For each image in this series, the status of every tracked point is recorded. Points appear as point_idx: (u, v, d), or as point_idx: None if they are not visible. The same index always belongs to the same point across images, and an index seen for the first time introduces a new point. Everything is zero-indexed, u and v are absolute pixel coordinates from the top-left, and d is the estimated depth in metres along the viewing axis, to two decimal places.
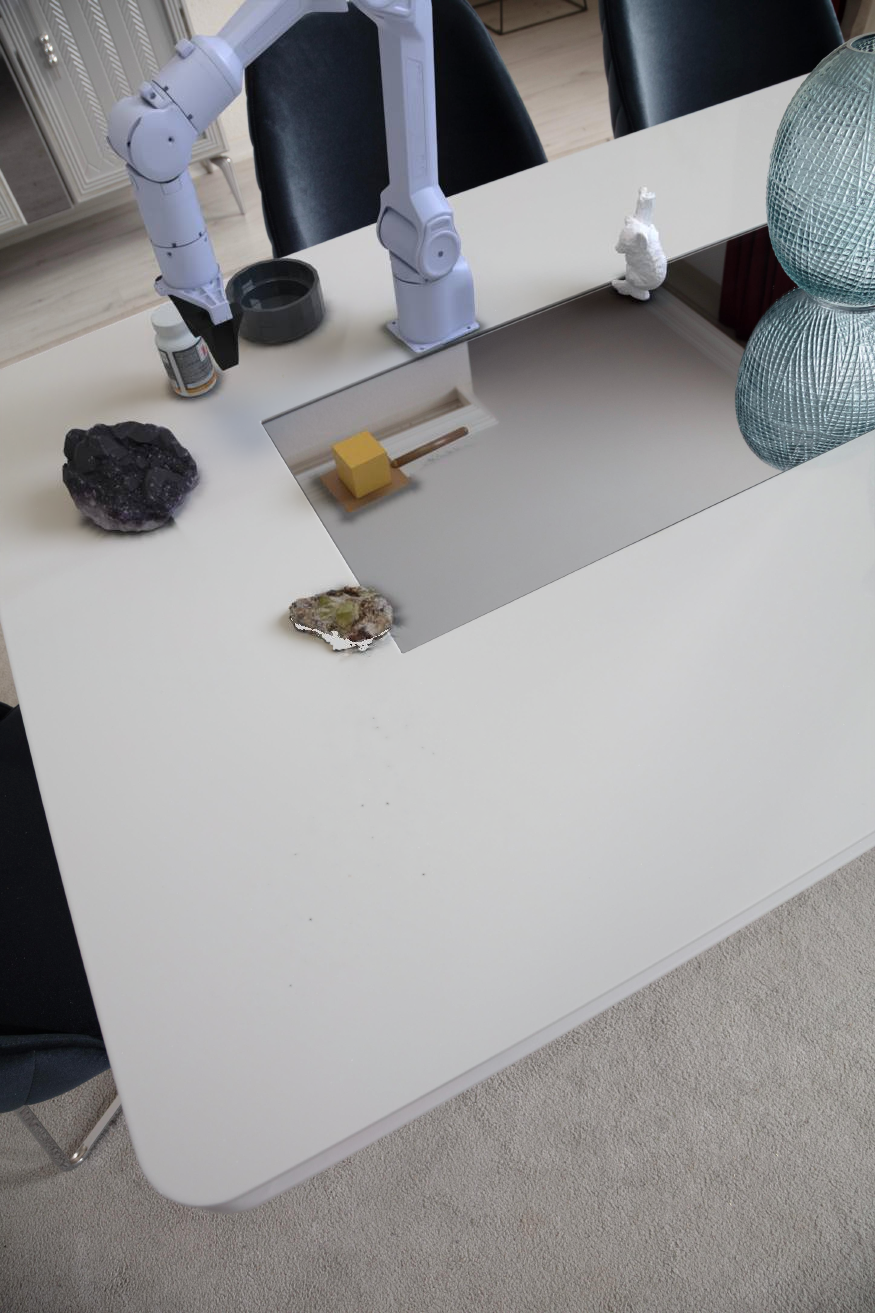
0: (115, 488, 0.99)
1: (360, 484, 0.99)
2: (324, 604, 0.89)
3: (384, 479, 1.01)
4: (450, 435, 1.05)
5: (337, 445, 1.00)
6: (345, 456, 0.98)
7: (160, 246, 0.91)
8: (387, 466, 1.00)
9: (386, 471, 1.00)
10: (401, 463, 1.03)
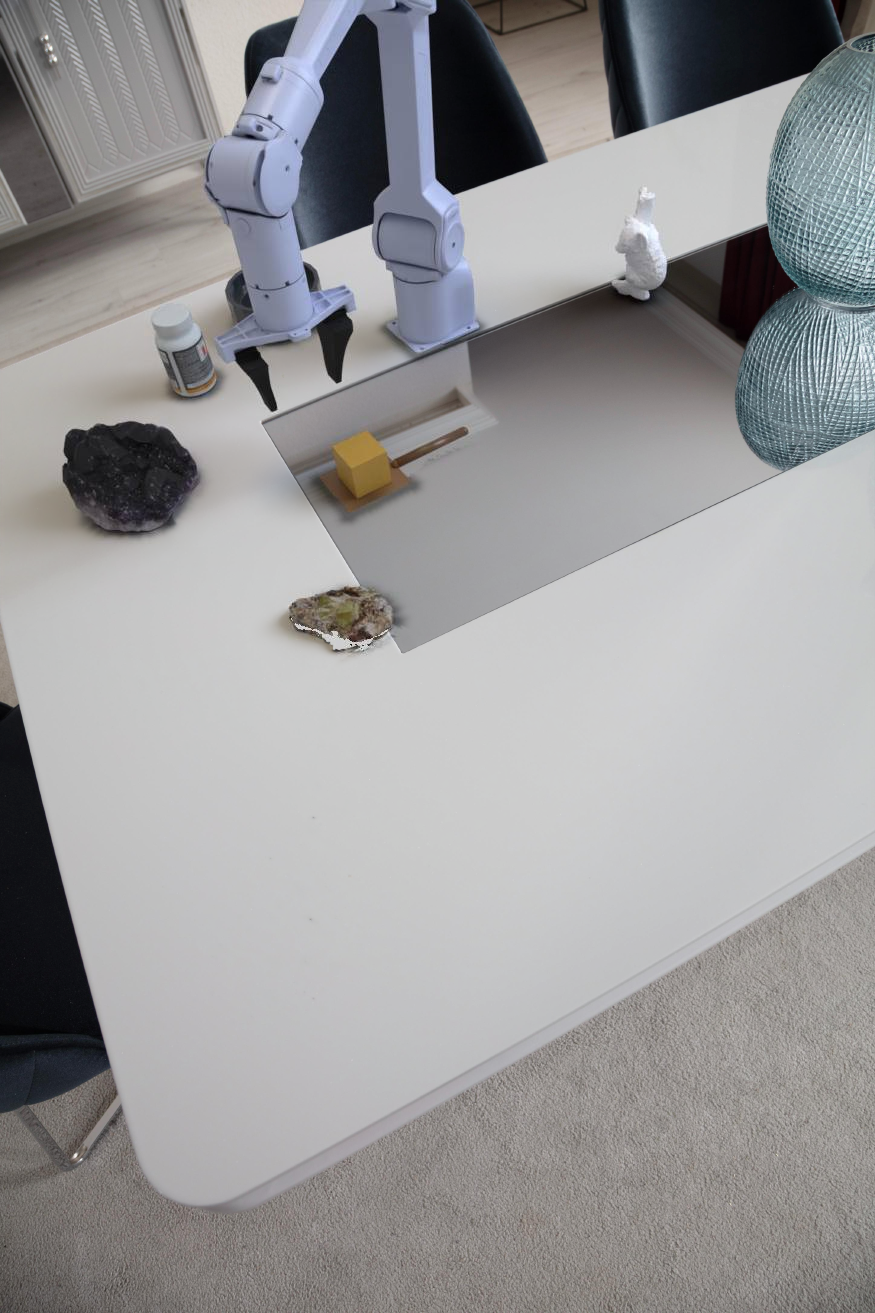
0: (115, 489, 0.99)
1: (360, 484, 0.99)
2: (324, 604, 0.89)
3: (384, 479, 1.01)
4: (450, 435, 1.05)
5: (337, 445, 1.00)
6: (345, 456, 0.98)
7: (299, 278, 0.86)
8: (387, 466, 1.00)
9: (386, 471, 1.00)
10: (401, 463, 1.03)
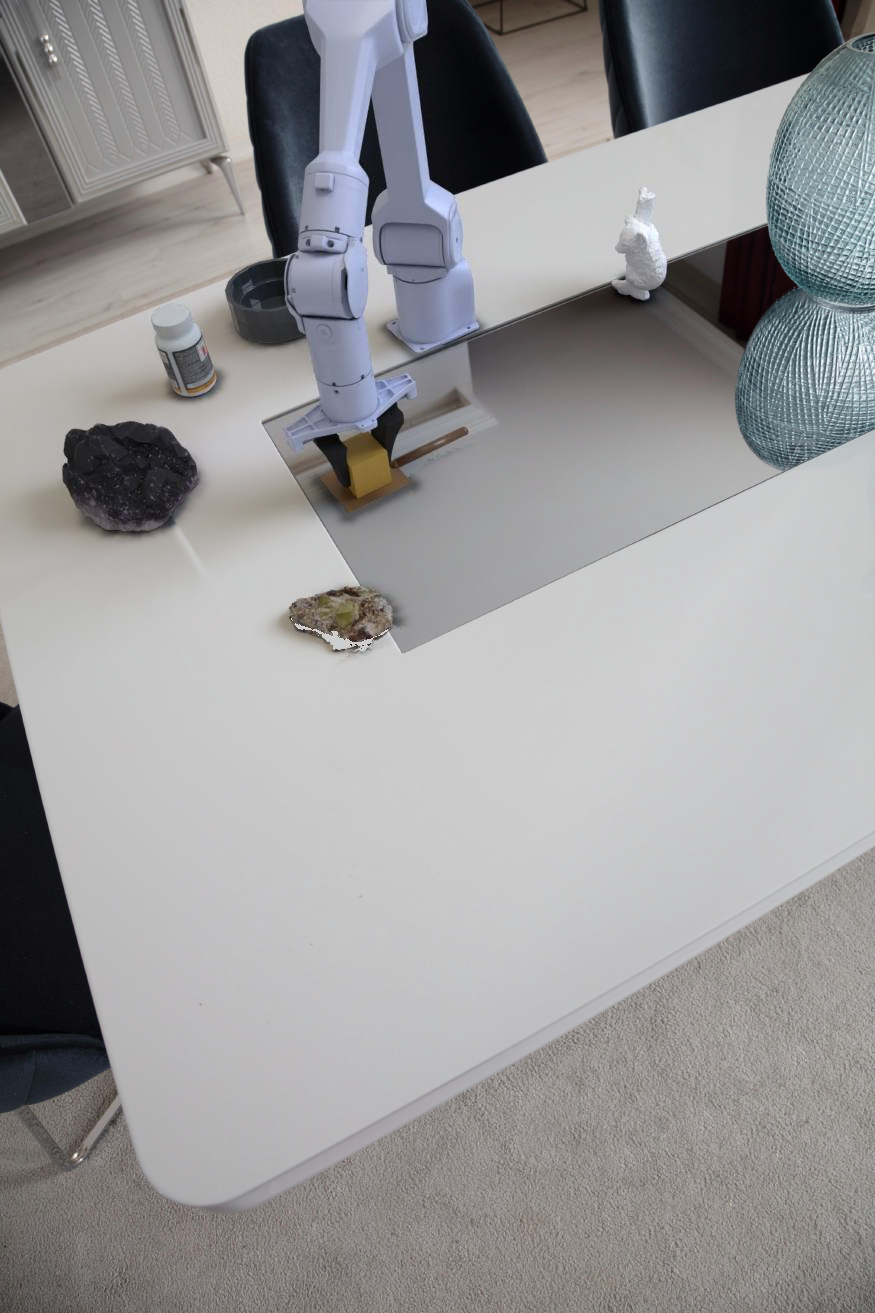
0: (115, 488, 0.99)
1: (360, 484, 0.99)
2: (324, 604, 0.89)
3: (385, 479, 1.01)
4: (450, 435, 1.05)
5: None
6: None
7: (368, 373, 0.90)
8: (387, 466, 1.00)
9: (386, 471, 1.00)
10: (401, 463, 1.03)
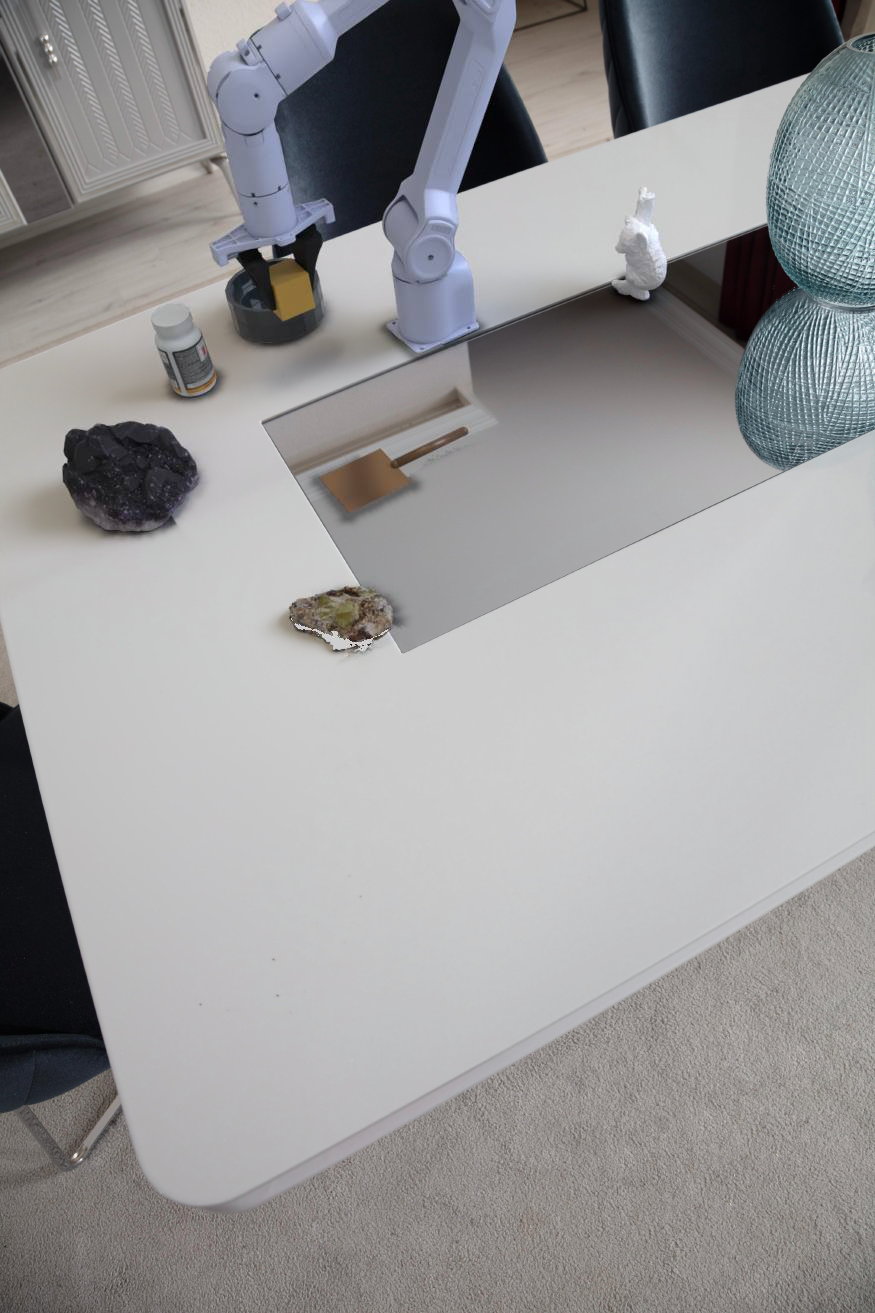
0: (115, 489, 0.99)
1: (285, 305, 1.07)
2: (324, 604, 0.89)
3: (308, 303, 1.09)
4: (450, 435, 1.05)
5: None
6: (270, 277, 1.06)
7: (284, 186, 0.98)
8: (310, 289, 1.08)
9: (309, 295, 1.08)
10: (401, 463, 1.03)
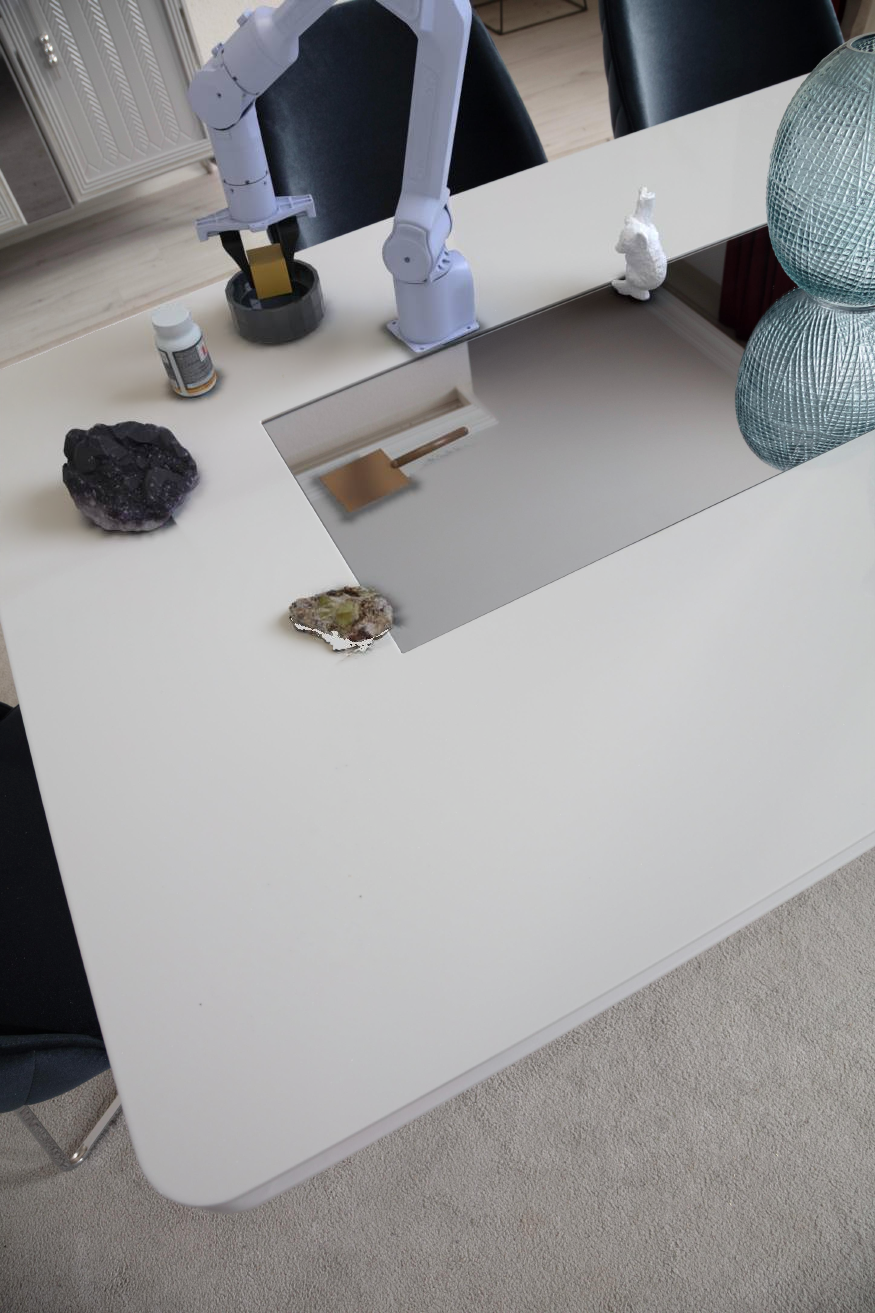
0: (115, 488, 0.99)
1: (260, 286, 1.17)
2: (324, 604, 0.89)
3: (285, 287, 1.18)
4: (450, 435, 1.05)
5: (250, 250, 1.17)
6: (251, 258, 1.16)
7: (259, 179, 1.07)
8: (286, 275, 1.17)
9: (286, 280, 1.17)
10: (401, 463, 1.03)
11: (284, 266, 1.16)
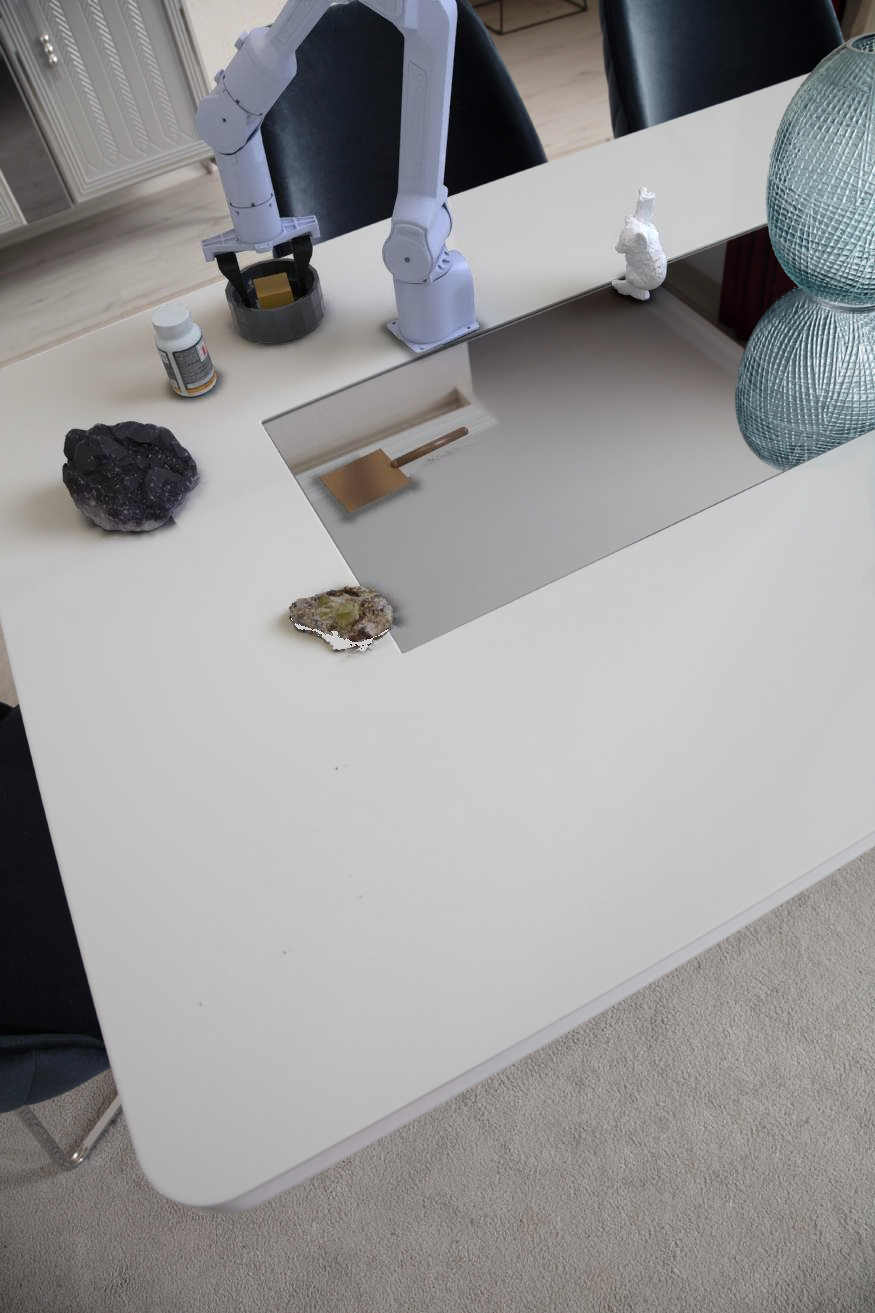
0: (115, 488, 0.99)
1: None
2: (324, 604, 0.89)
3: None
4: (450, 435, 1.05)
5: (257, 279, 1.21)
6: (258, 287, 1.19)
7: (265, 202, 1.09)
8: None
9: None
10: (401, 463, 1.03)
11: (290, 295, 1.19)
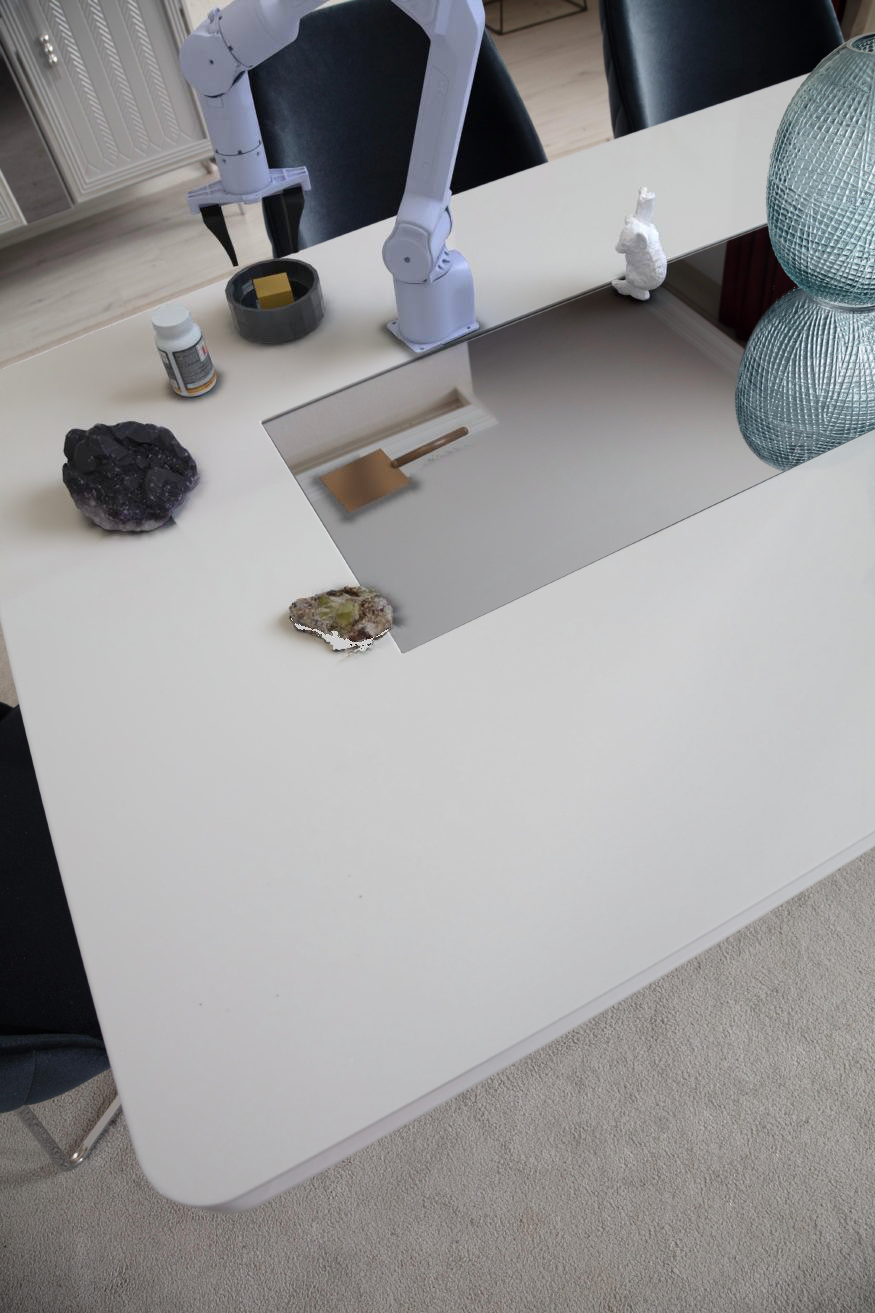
0: (115, 488, 0.99)
1: None
2: (324, 604, 0.89)
3: None
4: (450, 435, 1.05)
5: (257, 279, 1.21)
6: (258, 287, 1.19)
7: (252, 149, 1.04)
8: None
9: None
10: (401, 463, 1.03)
11: (290, 295, 1.19)
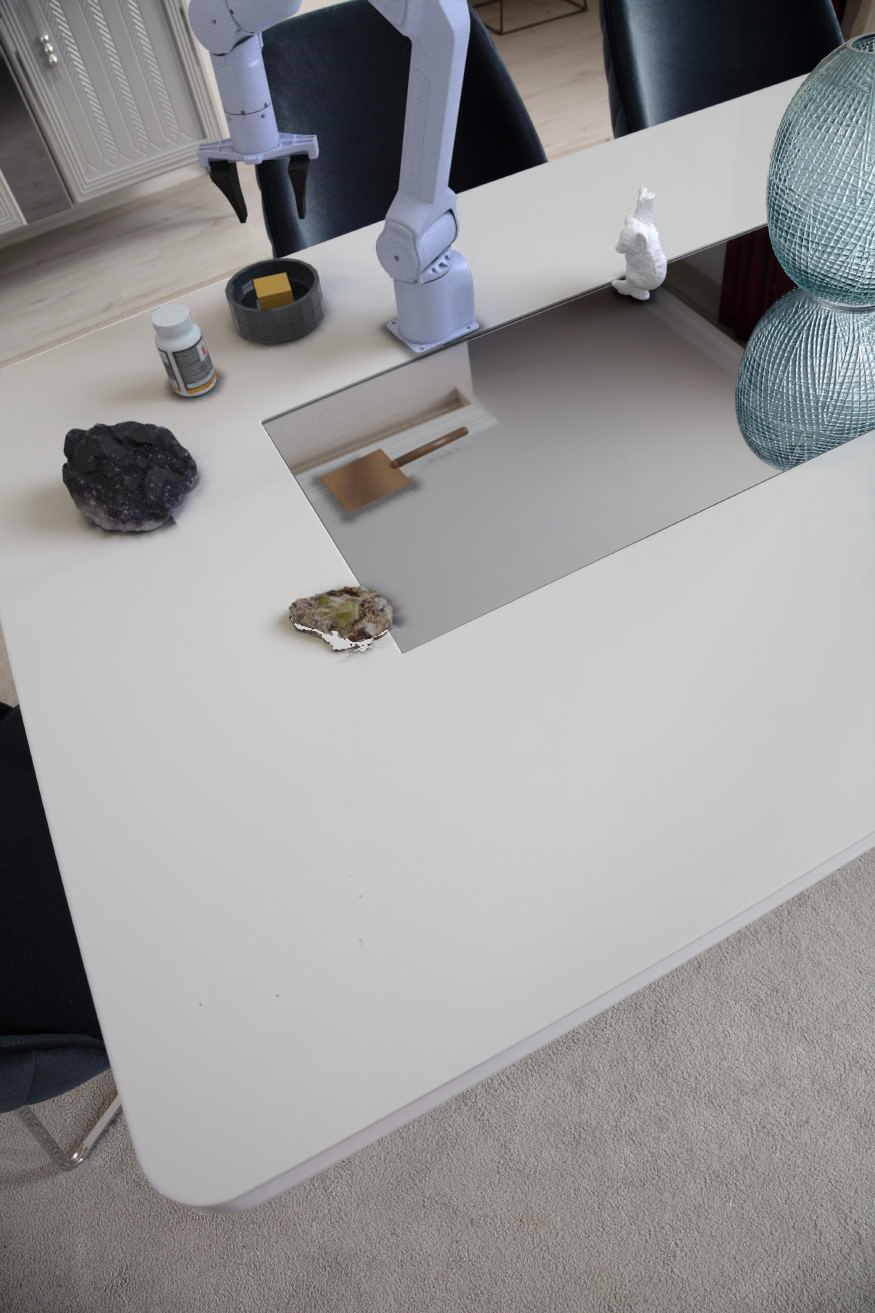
0: (115, 488, 0.99)
1: None
2: (324, 604, 0.89)
3: None
4: (450, 435, 1.05)
5: (257, 279, 1.21)
6: (258, 287, 1.19)
7: (256, 111, 1.06)
8: None
9: None
10: (401, 463, 1.03)
11: (290, 295, 1.19)
